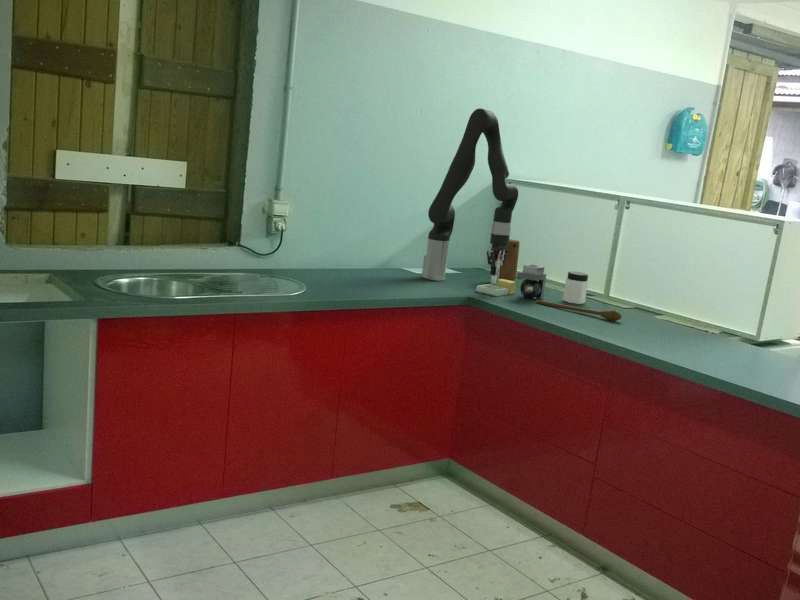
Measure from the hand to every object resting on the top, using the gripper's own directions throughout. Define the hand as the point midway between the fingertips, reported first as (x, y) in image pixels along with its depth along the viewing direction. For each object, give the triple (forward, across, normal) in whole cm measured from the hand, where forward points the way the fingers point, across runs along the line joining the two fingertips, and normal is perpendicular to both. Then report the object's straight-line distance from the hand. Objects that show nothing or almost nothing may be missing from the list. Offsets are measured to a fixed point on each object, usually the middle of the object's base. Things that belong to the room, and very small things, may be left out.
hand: (495, 274), depth 327 cm
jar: (+8, -22, +26) cm, 35 cm away
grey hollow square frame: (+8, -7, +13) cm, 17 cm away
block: (+8, -24, -10) cm, 27 cm away
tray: (+8, 0, 0) cm, 8 cm away
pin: (+4, 0, 0) cm, 4 cm away
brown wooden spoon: (+8, -2, +37) cm, 38 cm away
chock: (+8, -8, +1) cm, 11 cm away
